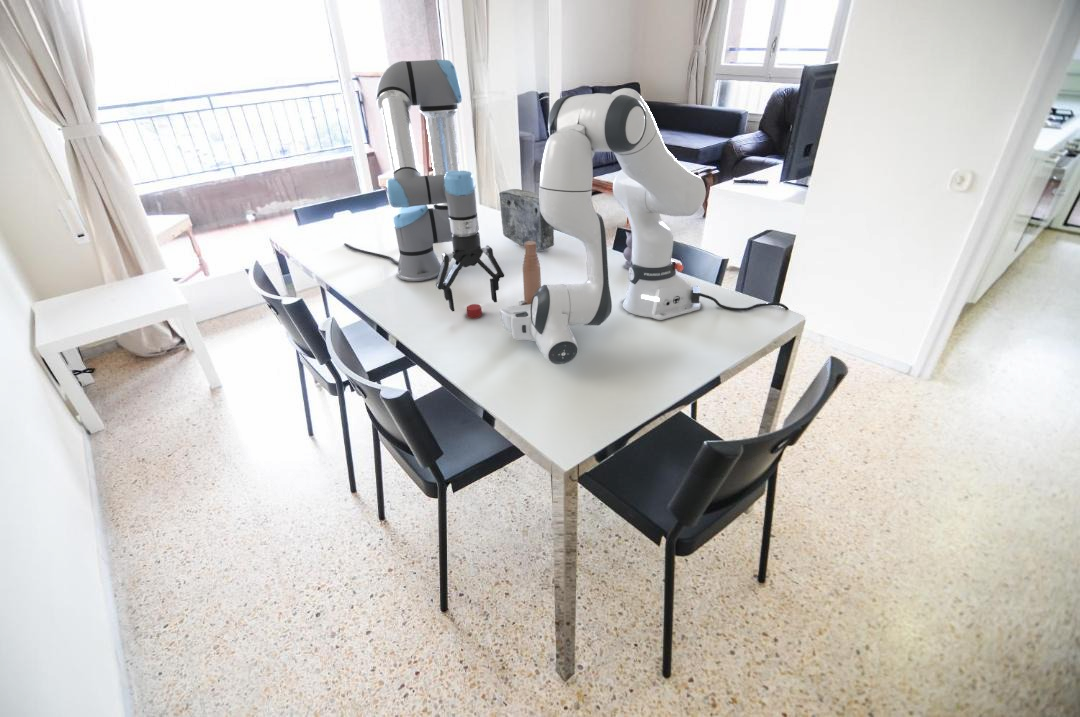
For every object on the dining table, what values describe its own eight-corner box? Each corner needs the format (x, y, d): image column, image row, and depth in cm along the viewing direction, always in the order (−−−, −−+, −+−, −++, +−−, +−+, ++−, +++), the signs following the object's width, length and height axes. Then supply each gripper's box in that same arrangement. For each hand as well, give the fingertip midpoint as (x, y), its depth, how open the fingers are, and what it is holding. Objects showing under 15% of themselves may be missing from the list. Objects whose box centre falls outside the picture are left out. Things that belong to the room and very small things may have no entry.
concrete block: (559, 252, 190) (558, 199, 179) (540, 257, 185) (538, 203, 175) (520, 236, 208) (517, 187, 198) (502, 240, 204) (498, 190, 194)
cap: (480, 311, 149) (479, 303, 147) (482, 317, 145) (482, 309, 144) (466, 313, 148) (465, 305, 147) (468, 319, 144) (467, 311, 143)
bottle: (545, 324, 140) (543, 242, 128) (532, 329, 138) (528, 247, 125) (535, 318, 143) (532, 238, 131) (522, 323, 141) (517, 242, 129)
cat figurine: (651, 266, 175) (654, 232, 168) (638, 272, 170) (641, 238, 163) (630, 260, 180) (633, 227, 173) (618, 267, 175) (619, 233, 169)
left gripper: (423, 243, 127) (435, 319, 138) (512, 229, 135) (517, 301, 146) (417, 235, 133) (429, 308, 144) (503, 222, 141) (508, 292, 152)
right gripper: (584, 306, 127) (567, 286, 138) (505, 318, 123) (495, 296, 134) (583, 328, 130) (567, 306, 142) (507, 340, 126) (497, 317, 137)
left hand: (473, 305), depth 145 cm, fingers open, 12 cm apart
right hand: (532, 301), depth 138 cm, fingers closed on bottle, 5 cm apart
